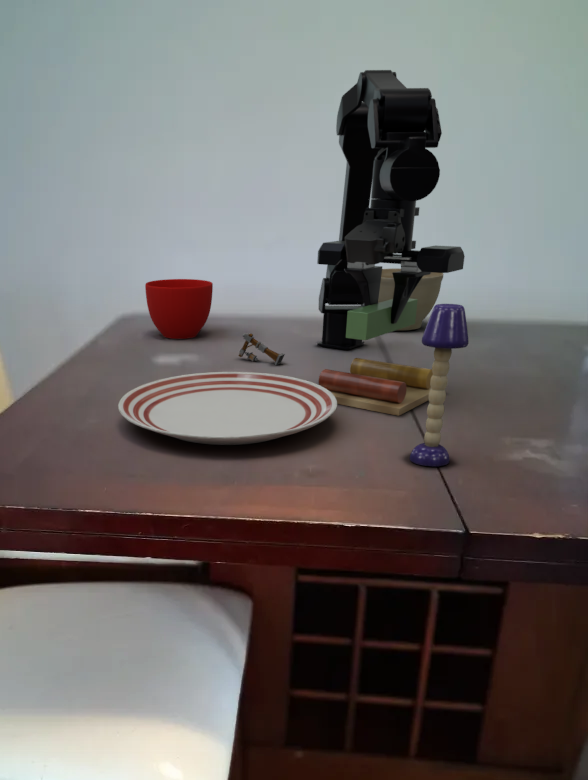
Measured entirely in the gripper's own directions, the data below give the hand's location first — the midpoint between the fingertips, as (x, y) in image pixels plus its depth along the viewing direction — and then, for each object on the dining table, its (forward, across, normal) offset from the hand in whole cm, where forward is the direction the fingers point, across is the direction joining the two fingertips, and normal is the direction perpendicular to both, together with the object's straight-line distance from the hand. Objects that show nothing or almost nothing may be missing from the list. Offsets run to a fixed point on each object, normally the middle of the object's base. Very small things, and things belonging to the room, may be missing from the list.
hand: (382, 322), depth 102 cm
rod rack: (+10, 0, 0) cm, 10 cm away
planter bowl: (+10, -21, +50) cm, 55 cm away
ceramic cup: (+10, -51, +18) cm, 55 cm away
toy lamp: (+10, +17, -20) cm, 29 cm away
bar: (+1, 0, 0) cm, 1 cm away
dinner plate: (+10, -9, -23) cm, 27 cm away
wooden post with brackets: (+10, -25, +7) cm, 28 cm away
